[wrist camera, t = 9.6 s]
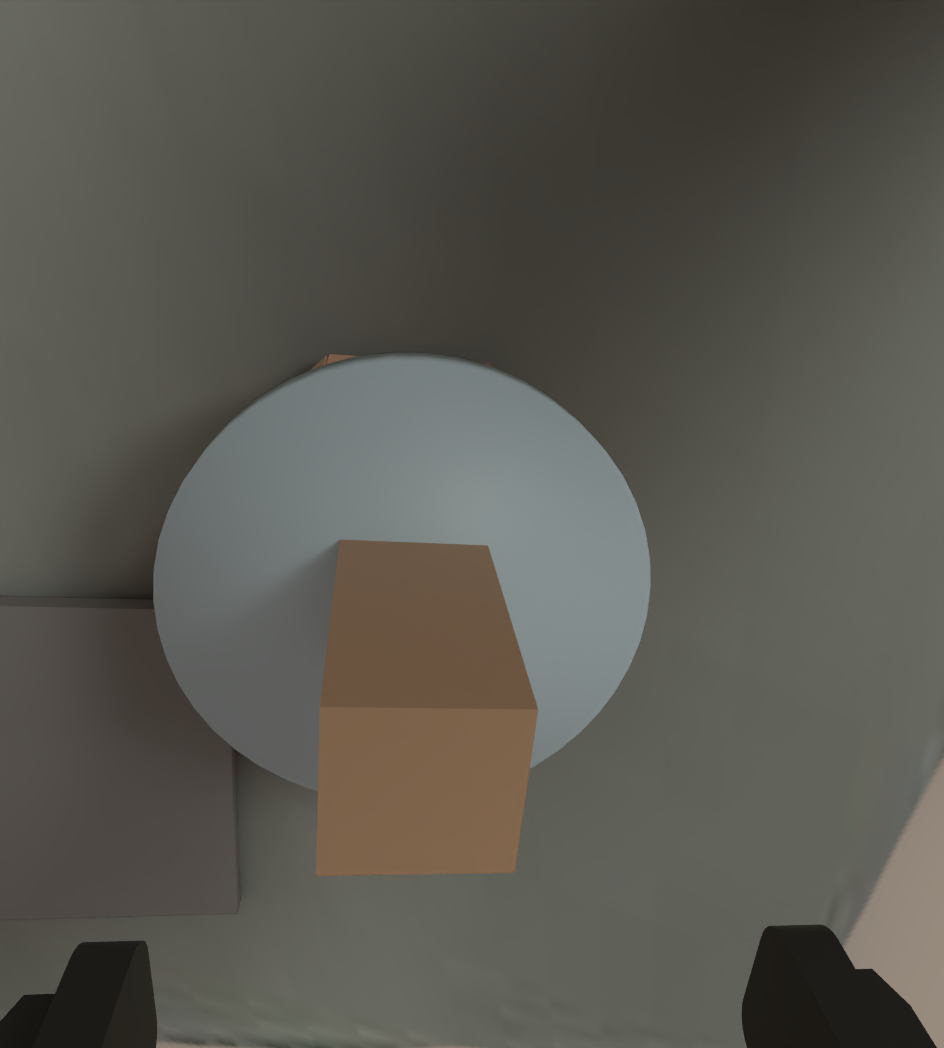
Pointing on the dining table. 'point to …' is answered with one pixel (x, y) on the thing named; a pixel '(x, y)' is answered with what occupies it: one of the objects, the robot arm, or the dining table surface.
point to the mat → (107, 770)
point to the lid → (403, 600)
